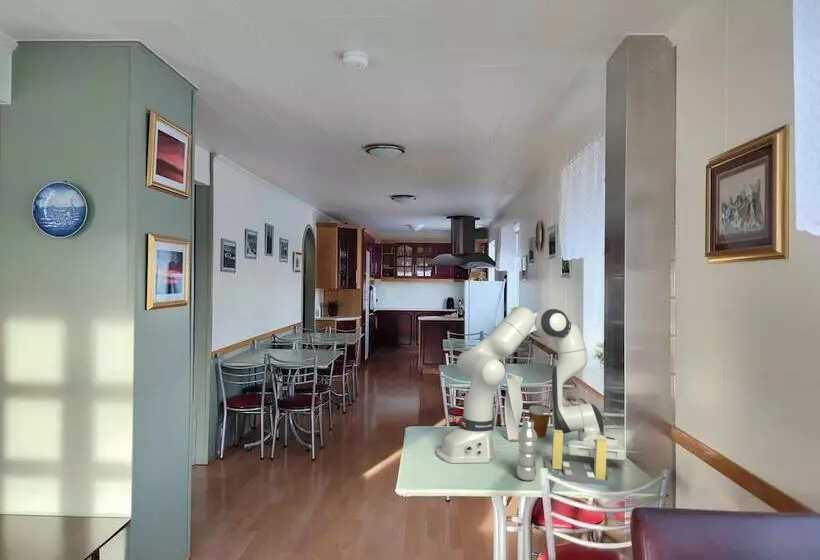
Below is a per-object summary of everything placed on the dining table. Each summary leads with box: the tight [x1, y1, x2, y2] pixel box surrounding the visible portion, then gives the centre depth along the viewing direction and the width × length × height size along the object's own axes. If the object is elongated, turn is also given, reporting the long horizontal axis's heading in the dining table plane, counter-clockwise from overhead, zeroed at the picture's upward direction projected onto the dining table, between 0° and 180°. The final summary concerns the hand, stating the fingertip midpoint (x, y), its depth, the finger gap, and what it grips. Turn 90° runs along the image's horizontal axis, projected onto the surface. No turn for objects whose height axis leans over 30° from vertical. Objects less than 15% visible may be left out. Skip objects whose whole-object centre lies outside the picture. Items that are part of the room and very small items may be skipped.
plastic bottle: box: [516, 418, 538, 481], centre depth 181 cm, size 6×7×20 cm
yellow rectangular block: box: [551, 429, 564, 470], centre depth 193 cm, size 4×3×13 cm
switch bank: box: [544, 458, 616, 487], centre depth 188 cm, size 16×22×2 cm
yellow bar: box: [593, 438, 607, 480], centre depth 185 cm, size 4×3×13 cm
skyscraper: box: [503, 372, 526, 443], centre depth 225 cm, size 8×8×28 cm
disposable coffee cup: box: [527, 405, 552, 438], centre depth 231 cm, size 10×10×12 cm
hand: (599, 457), depth 187 cm, fingers closed, pressing on yellow bar
